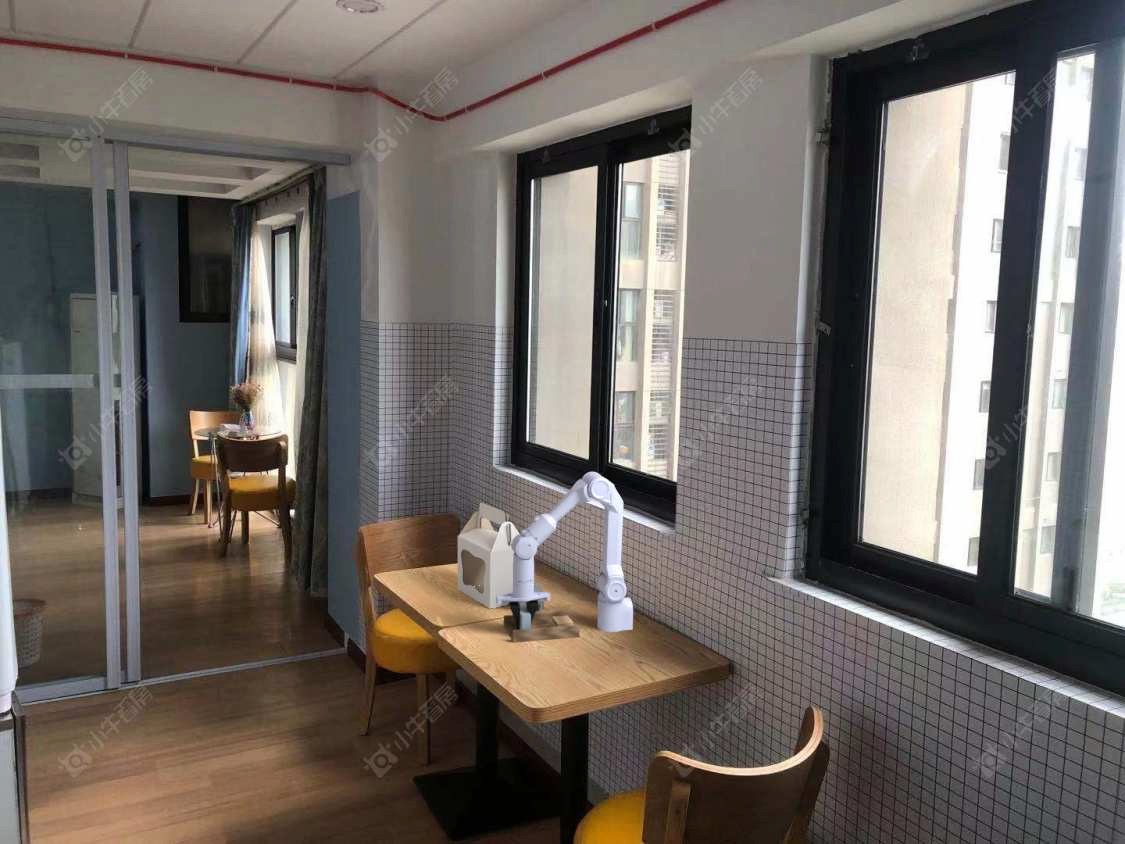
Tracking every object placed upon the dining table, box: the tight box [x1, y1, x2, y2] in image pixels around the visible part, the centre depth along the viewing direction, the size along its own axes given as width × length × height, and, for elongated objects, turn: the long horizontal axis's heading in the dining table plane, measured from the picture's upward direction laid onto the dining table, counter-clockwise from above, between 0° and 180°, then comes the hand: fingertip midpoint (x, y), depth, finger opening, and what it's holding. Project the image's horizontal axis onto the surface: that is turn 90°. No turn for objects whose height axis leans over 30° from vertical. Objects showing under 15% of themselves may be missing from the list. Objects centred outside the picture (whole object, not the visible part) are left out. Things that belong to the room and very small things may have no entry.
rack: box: [503, 610, 581, 644], centre depth 248 cm, size 18×13×4 cm
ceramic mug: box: [518, 583, 545, 613], centre depth 266 cm, size 11×8×8 cm
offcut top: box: [552, 615, 574, 627], centre depth 249 cm, size 4×6×2 cm
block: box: [520, 606, 531, 630], centre depth 246 cm, size 2×8×6 cm, turn 15°
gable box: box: [457, 501, 521, 609], centre depth 279 cm, size 22×13×28 cm, turn 32°
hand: (523, 628), depth 246 cm, fingers closed on block, 2 cm apart
